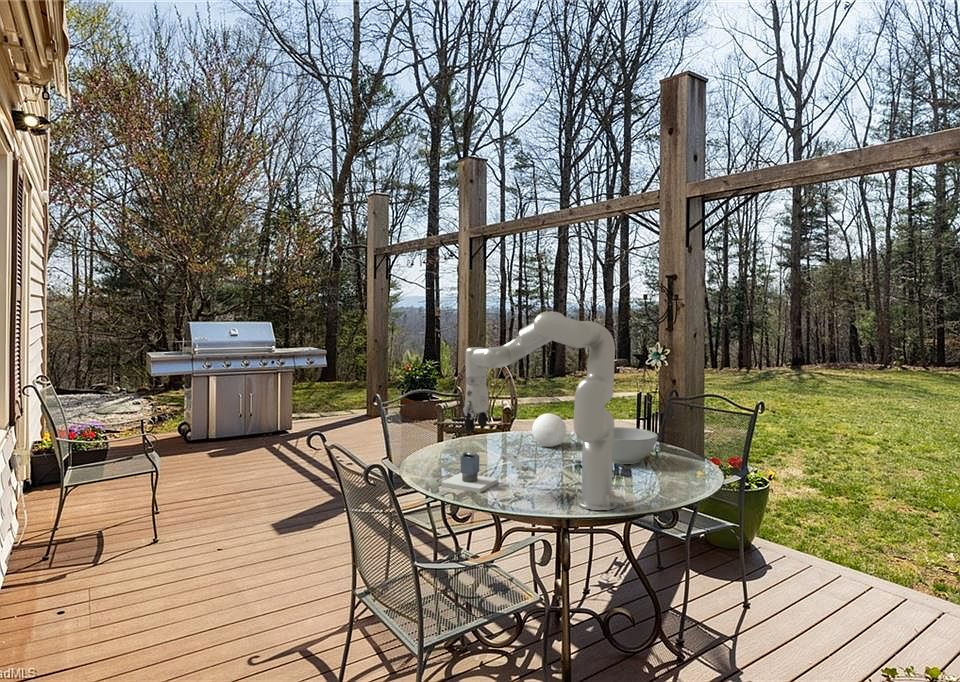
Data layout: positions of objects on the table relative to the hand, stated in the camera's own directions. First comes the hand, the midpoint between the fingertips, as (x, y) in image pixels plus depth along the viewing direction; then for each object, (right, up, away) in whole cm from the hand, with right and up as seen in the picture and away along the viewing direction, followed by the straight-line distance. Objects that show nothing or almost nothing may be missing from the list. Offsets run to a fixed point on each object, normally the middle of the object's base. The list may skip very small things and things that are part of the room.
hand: (476, 427), depth 198 cm
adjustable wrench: (+15, -20, +32) cm, 41 cm away
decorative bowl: (+63, -20, +35) cm, 75 cm away
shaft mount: (-2, -21, 0) cm, 21 cm away
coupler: (-2, -16, 0) cm, 16 cm away
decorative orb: (+34, -19, +62) cm, 74 cm away
